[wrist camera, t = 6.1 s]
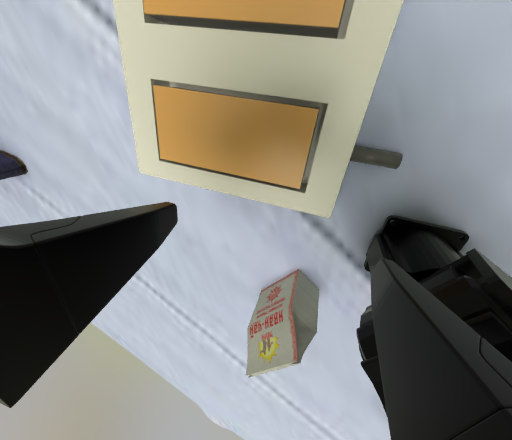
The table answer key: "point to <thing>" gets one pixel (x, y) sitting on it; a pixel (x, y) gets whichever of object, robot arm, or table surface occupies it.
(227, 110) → the orange cabinet drawer
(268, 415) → the table surface
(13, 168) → the flask
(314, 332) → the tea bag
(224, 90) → the cream board with panels
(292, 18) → the orange drawer
